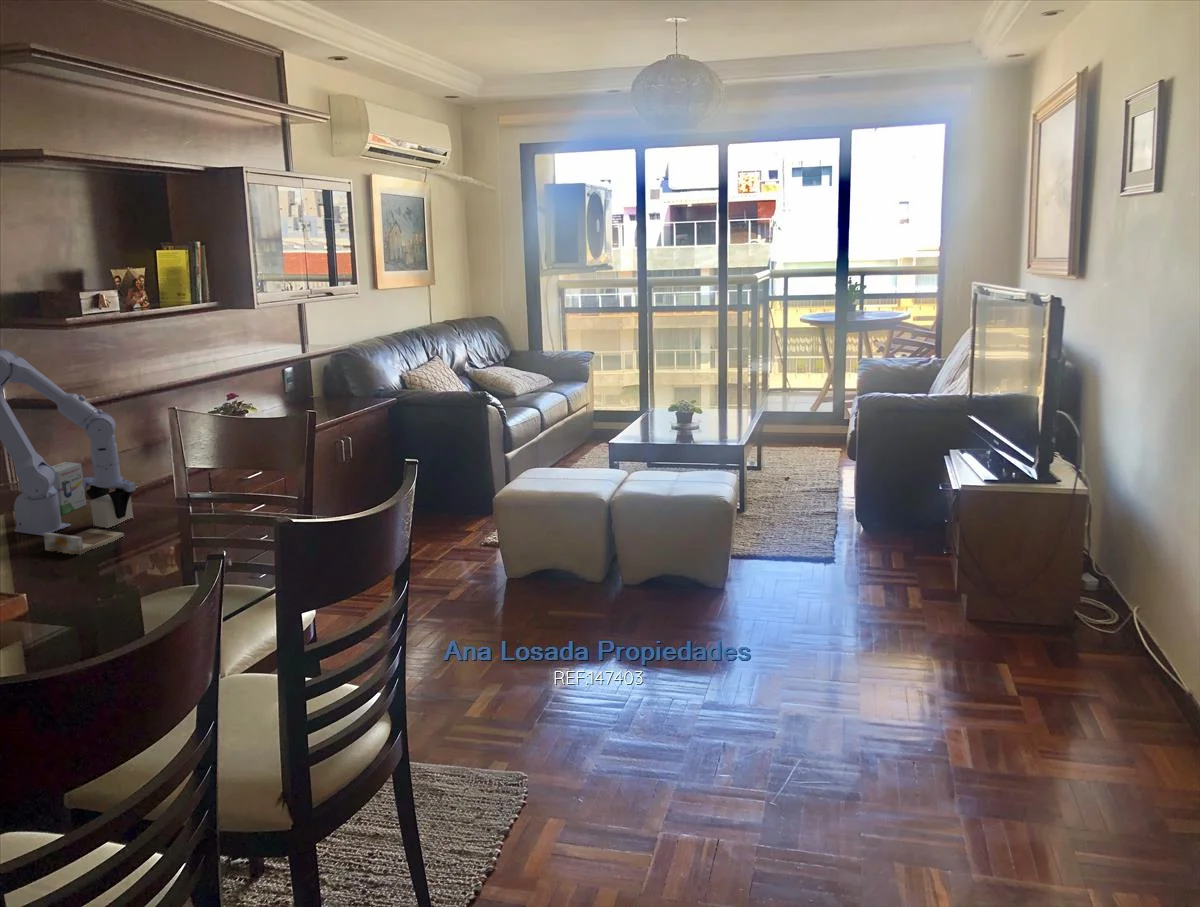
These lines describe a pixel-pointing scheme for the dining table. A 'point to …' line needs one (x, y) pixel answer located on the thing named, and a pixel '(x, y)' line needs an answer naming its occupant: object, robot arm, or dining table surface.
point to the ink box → (69, 486)
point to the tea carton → (108, 512)
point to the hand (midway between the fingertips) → (112, 516)
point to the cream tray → (79, 541)
